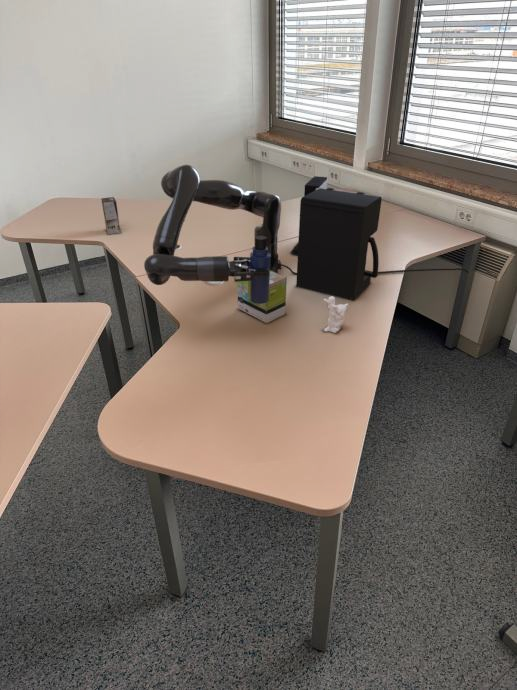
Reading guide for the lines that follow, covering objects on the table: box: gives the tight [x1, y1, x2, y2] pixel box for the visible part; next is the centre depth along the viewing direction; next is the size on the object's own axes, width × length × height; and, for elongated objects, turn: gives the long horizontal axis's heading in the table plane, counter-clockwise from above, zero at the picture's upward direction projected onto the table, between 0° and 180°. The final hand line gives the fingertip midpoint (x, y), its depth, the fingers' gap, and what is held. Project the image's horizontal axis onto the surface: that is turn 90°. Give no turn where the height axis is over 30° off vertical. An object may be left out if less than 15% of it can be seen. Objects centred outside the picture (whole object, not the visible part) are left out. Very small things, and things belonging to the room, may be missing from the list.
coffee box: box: [100, 196, 121, 235], centre depth 244 cm, size 9×6×16 cm
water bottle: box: [249, 236, 270, 304], centre depth 147 cm, size 6×6×20 cm
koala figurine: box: [323, 295, 350, 334], centre depth 159 cm, size 8×7×12 cm
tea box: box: [236, 271, 288, 324], centre depth 169 cm, size 15×10×15 cm
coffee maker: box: [295, 187, 383, 301], centre depth 183 cm, size 28×20×35 cm
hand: (267, 268), depth 147 cm, fingers closed on water bottle, 6 cm apart
